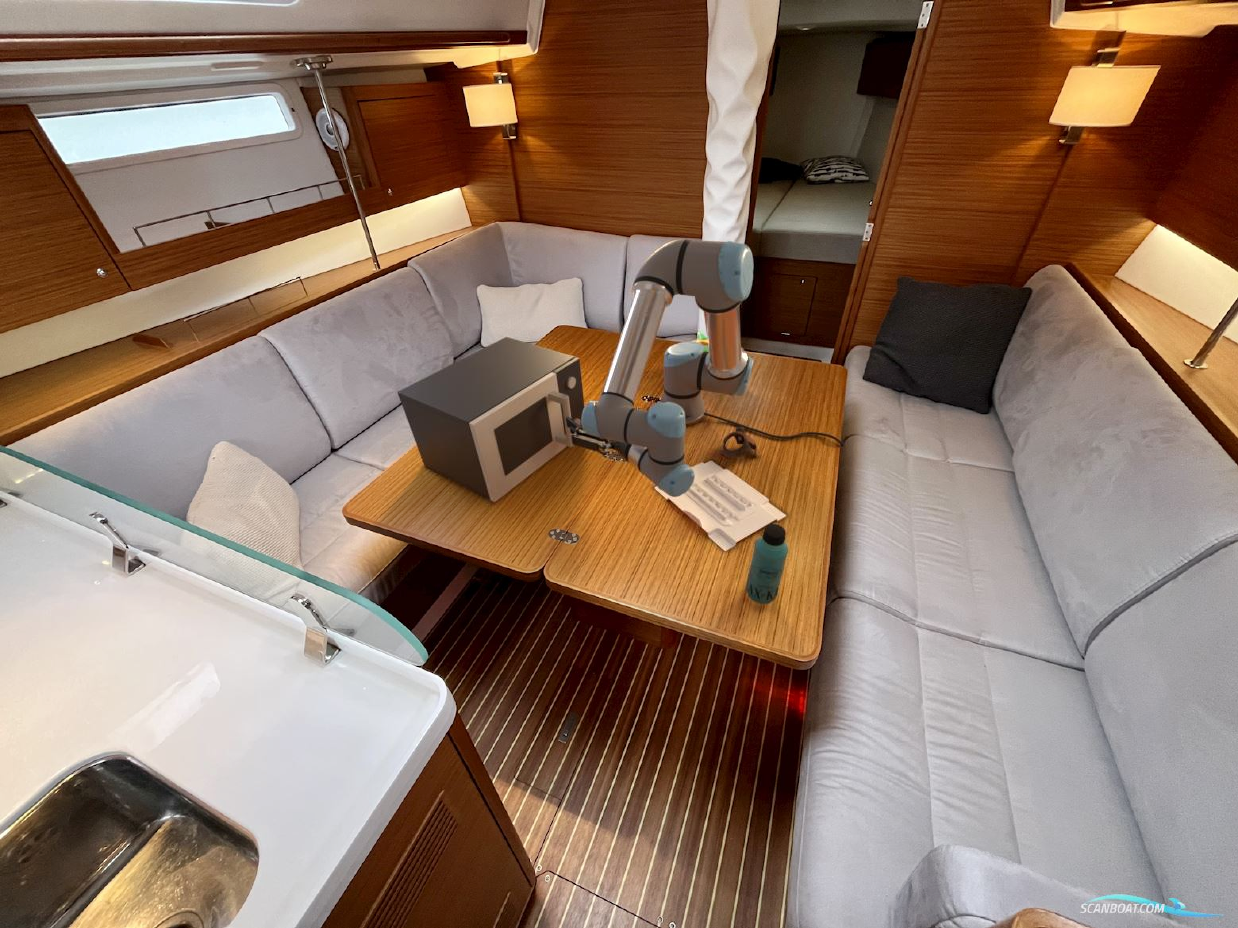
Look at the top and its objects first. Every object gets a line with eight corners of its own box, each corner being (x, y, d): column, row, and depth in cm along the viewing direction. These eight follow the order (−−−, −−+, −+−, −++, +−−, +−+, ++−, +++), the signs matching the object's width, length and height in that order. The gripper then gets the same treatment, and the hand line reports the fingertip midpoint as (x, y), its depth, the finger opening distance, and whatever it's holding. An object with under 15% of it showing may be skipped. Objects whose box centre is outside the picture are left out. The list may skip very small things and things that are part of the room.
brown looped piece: (761, 465, 140) (752, 448, 134) (729, 474, 144) (719, 458, 138) (757, 432, 147) (747, 416, 141) (726, 442, 151) (716, 426, 145)
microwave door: (581, 452, 147) (573, 378, 132) (510, 510, 129) (490, 432, 114) (562, 445, 151) (551, 371, 136) (490, 500, 132) (468, 422, 117)
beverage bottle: (740, 585, 107) (751, 519, 94) (771, 583, 107) (786, 516, 95) (749, 611, 102) (762, 544, 89) (781, 608, 102) (798, 541, 90)
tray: (711, 460, 142) (712, 449, 139) (786, 518, 124) (789, 507, 121) (653, 488, 133) (653, 477, 131) (724, 554, 115) (726, 544, 113)
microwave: (589, 431, 157) (581, 358, 141) (496, 503, 132) (474, 425, 116) (519, 405, 171) (506, 336, 156) (424, 466, 146) (397, 391, 131)
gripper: (595, 484, 111) (549, 441, 125) (680, 444, 121) (630, 408, 135) (592, 457, 106) (545, 416, 120) (681, 418, 117) (629, 384, 131)
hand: (590, 412), depth 128 cm, fingers open, 13 cm apart
